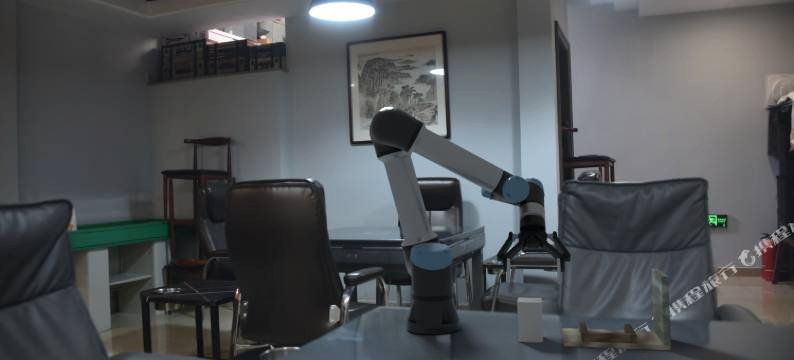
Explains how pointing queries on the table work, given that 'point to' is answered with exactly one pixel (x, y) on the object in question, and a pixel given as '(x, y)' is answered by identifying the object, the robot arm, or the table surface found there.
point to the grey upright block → (530, 320)
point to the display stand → (628, 336)
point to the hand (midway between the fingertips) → (533, 280)
